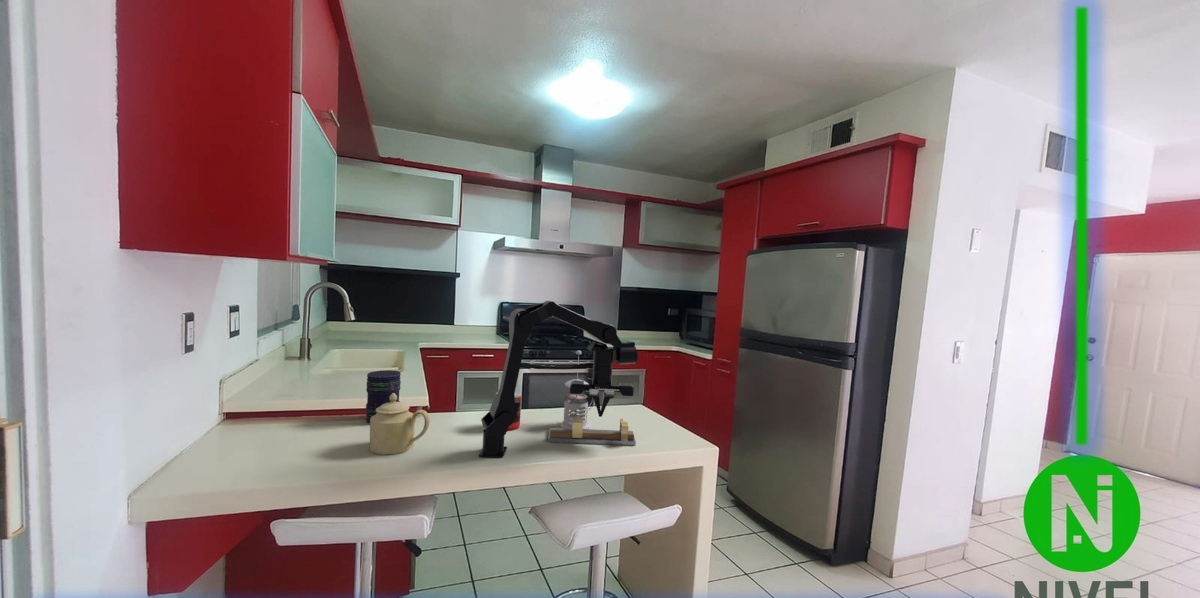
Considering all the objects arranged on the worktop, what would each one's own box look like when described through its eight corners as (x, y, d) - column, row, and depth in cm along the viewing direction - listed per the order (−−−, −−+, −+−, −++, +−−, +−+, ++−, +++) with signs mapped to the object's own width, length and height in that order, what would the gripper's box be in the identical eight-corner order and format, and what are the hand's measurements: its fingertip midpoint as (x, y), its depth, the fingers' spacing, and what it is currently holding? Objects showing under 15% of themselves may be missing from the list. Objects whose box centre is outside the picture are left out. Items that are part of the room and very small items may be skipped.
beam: (634, 441, 131) (634, 426, 131) (549, 438, 130) (550, 422, 130) (631, 433, 138) (632, 418, 138) (551, 430, 137) (552, 415, 137)
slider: (582, 438, 131) (582, 423, 130) (572, 438, 131) (572, 422, 130) (582, 430, 138) (583, 415, 137) (572, 430, 137) (573, 415, 137)
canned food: (492, 424, 143) (493, 390, 143) (516, 422, 147) (517, 389, 146) (497, 432, 136) (498, 397, 136) (522, 429, 140) (524, 395, 139)
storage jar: (359, 424, 137) (360, 376, 136) (373, 414, 147) (374, 369, 146) (392, 424, 138) (394, 377, 137) (404, 415, 148) (405, 370, 147)
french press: (555, 422, 148) (559, 348, 147) (586, 418, 154) (590, 347, 153) (567, 431, 140) (571, 353, 139) (599, 427, 145) (603, 352, 144)
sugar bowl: (428, 437, 130) (430, 386, 129) (428, 451, 119) (430, 396, 119) (372, 441, 124) (373, 388, 124) (366, 456, 114) (368, 399, 113)
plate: (635, 445, 131) (635, 441, 131) (547, 442, 130) (547, 437, 130) (632, 434, 140) (632, 430, 140) (550, 431, 139) (550, 427, 139)
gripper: (631, 361, 140) (628, 409, 141) (572, 358, 140) (570, 407, 140) (635, 368, 129) (632, 420, 130) (571, 365, 129) (568, 418, 129)
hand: (600, 416), depth 133 cm, fingers closed
